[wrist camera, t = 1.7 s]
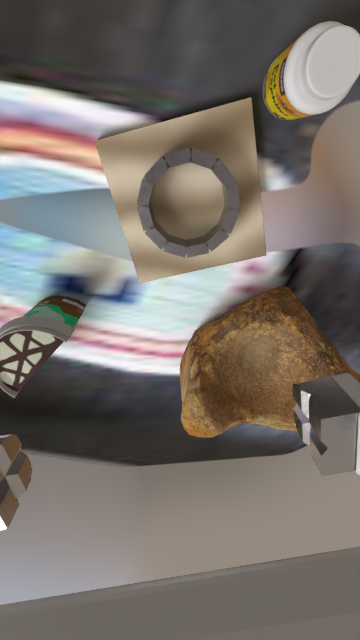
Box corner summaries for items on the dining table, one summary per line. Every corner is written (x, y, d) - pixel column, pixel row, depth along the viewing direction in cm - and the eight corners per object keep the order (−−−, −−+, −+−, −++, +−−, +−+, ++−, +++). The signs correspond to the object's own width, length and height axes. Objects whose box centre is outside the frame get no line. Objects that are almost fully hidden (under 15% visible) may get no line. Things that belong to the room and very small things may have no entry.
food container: (53, 268, 39) (17, 303, 30) (92, 298, 41) (69, 338, 33) (6, 327, 44) (-37, 372, 35) (44, 352, 46) (12, 400, 37)
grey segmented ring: (129, 163, 32) (124, 165, 30) (226, 137, 31) (231, 136, 28) (155, 257, 37) (153, 265, 34) (240, 237, 36) (245, 245, 33)
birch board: (97, 141, 32) (94, 140, 31) (248, 98, 30) (251, 97, 29) (140, 279, 40) (139, 282, 39) (264, 252, 38) (266, 255, 37)
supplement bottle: (253, 70, 29) (285, 36, 20) (311, 37, 28) (371, -14, 19) (270, 132, 32) (305, 126, 23) (324, 104, 31) (383, 86, 22)
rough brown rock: (349, 266, 40) (429, 311, 26) (333, 372, 47) (391, 451, 33) (172, 279, 42) (161, 328, 28) (182, 380, 48) (178, 458, 35)
